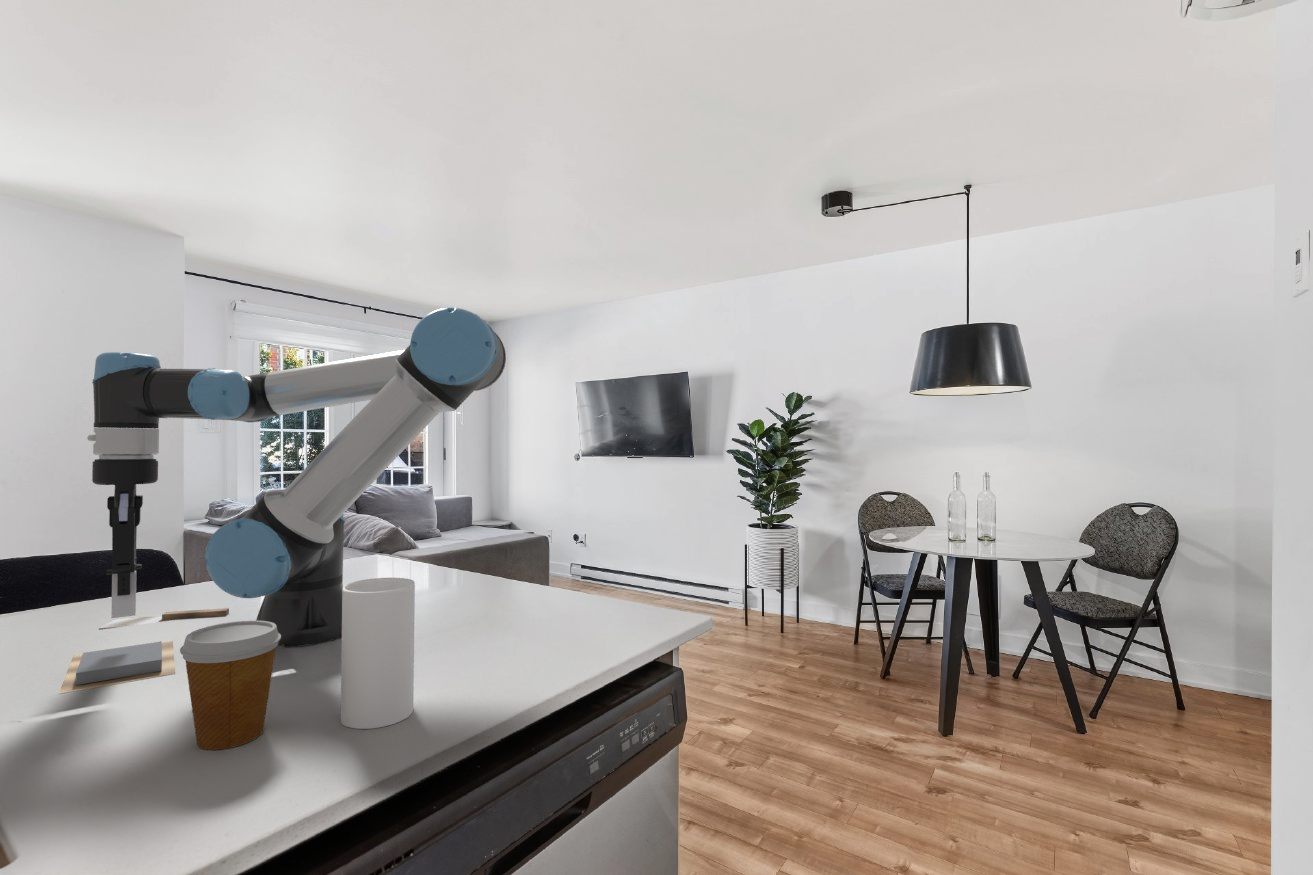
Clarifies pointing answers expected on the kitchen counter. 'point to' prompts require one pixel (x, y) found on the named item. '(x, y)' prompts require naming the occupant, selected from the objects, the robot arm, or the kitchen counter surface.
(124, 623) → the turner
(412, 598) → the cup
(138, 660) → the tile
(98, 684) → the board
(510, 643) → the kitchen counter surface
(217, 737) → the disposable coffee cup
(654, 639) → the kitchen counter surface
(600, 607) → the kitchen counter surface
